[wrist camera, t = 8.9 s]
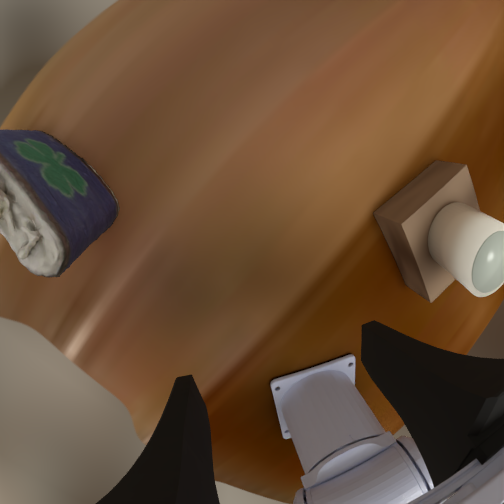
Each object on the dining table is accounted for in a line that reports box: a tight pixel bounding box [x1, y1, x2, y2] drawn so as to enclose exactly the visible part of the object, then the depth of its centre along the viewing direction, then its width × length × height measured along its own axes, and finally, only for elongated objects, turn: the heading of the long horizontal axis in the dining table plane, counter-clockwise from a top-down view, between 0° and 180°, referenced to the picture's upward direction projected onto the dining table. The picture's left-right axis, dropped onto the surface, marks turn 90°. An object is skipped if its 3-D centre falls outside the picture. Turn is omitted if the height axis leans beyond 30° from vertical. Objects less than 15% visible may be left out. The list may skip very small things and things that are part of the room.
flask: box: [0, 130, 119, 277], centre depth 12 cm, size 9×3×11 cm, turn 45°
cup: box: [428, 202, 504, 297], centre depth 17 cm, size 5×5×5 cm
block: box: [373, 160, 480, 303], centre depth 21 cm, size 8×8×4 cm
